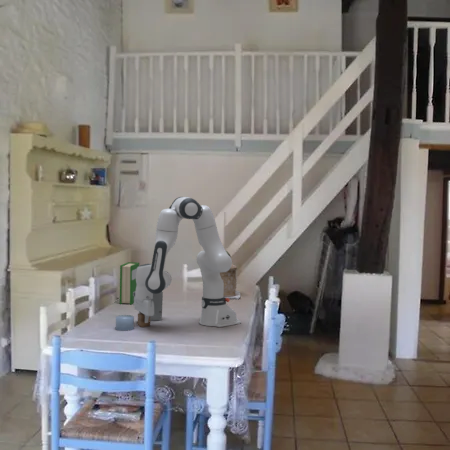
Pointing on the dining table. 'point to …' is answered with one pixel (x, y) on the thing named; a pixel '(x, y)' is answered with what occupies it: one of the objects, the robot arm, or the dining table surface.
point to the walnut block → (142, 320)
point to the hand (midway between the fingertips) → (143, 321)
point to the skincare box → (157, 306)
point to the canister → (124, 322)
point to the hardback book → (128, 282)
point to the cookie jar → (230, 283)
